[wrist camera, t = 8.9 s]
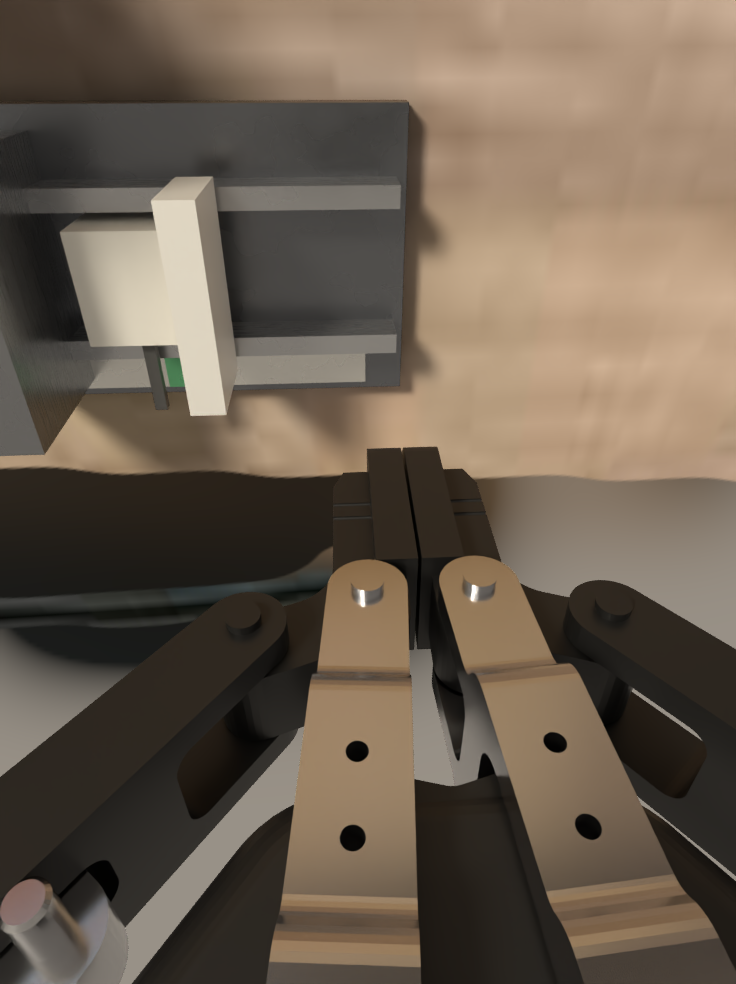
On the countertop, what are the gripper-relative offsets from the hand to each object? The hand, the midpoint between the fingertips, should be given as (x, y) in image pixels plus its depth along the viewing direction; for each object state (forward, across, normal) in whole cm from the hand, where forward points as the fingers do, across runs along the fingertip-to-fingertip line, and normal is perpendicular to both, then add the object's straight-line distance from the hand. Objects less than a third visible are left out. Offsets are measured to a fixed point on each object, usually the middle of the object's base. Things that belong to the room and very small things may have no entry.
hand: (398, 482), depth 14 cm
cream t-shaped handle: (+21, +10, +2) cm, 24 cm away
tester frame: (+23, +8, +2) cm, 24 cm away
